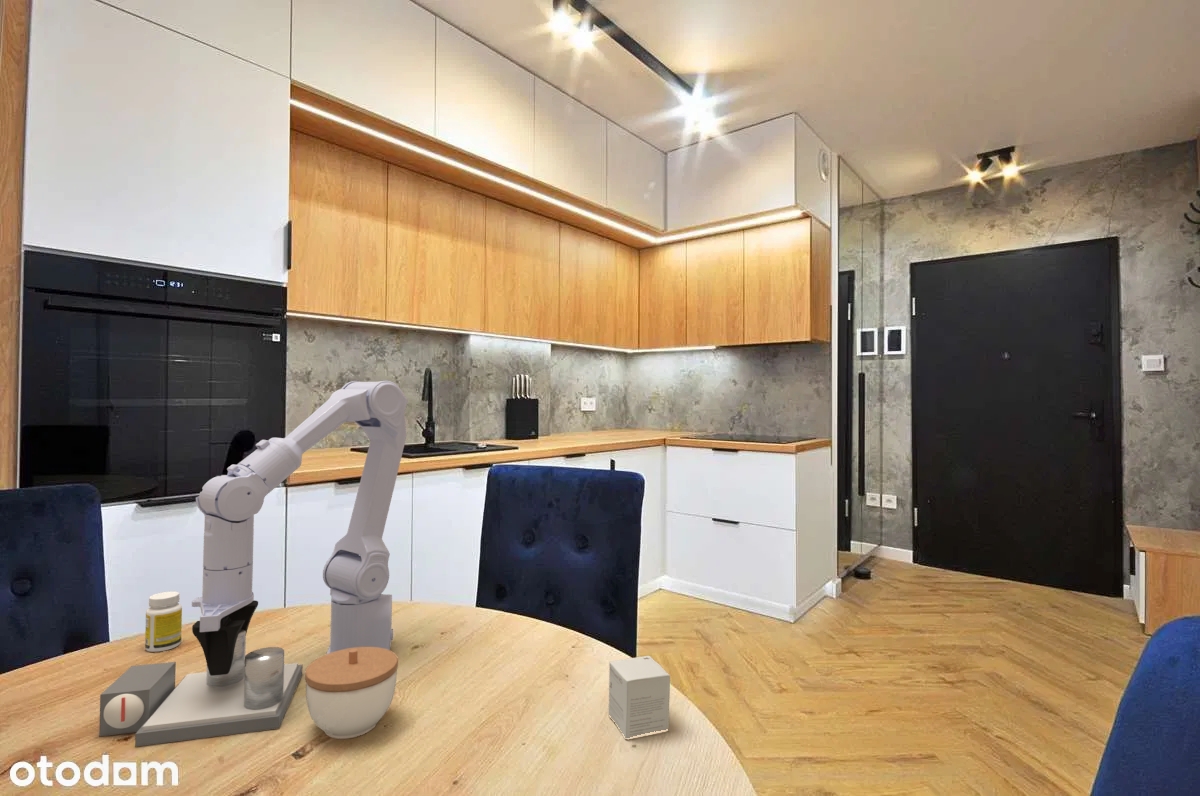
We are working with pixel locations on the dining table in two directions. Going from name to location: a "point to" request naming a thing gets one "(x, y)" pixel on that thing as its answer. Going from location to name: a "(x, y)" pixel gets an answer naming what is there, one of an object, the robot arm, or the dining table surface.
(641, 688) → the product box
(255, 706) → the cylinder
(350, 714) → the lidded jar
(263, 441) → the robot arm
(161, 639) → the supplement bottle
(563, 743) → the dining table surface
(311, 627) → the dining table surface
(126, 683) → the scale
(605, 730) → the dining table surface
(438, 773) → the dining table surface
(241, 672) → the cylinder
